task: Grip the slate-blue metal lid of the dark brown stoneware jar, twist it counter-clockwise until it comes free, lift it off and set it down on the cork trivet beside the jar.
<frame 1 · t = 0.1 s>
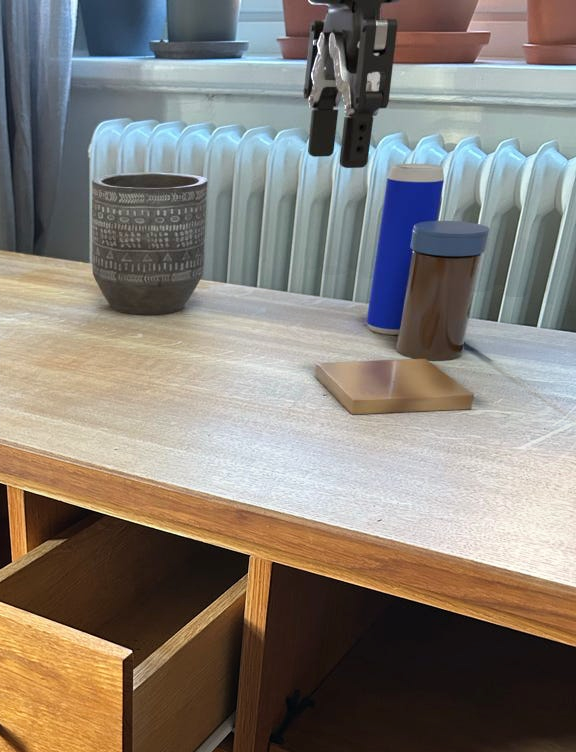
hand: (335, 161, 83), 16 cm above the table, tool pointing down, fingers open, 8 cm apart
trivet: (389, 391, 81), on the table
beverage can: (391, 331, 98), on the table
planter: (146, 307, 107), on the table
jar: (428, 351, 91), on the table
jar lid: (450, 231, 85), point 11 cm above the table, screwed on, not yet turned
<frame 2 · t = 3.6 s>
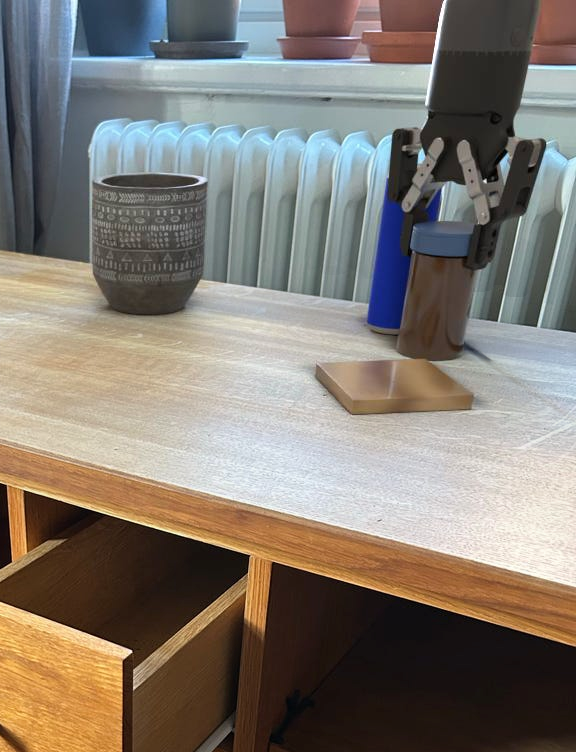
hand: (442, 261, 87), 8 cm above the table, tool pointing down, fingers closed on jar lid, 6 cm apart
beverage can: (391, 330, 98), on the table, touching hand
jar lid: (450, 231, 85), point 11 cm above the table, screwed on, not yet turned, touching gripper
everything else where it was.
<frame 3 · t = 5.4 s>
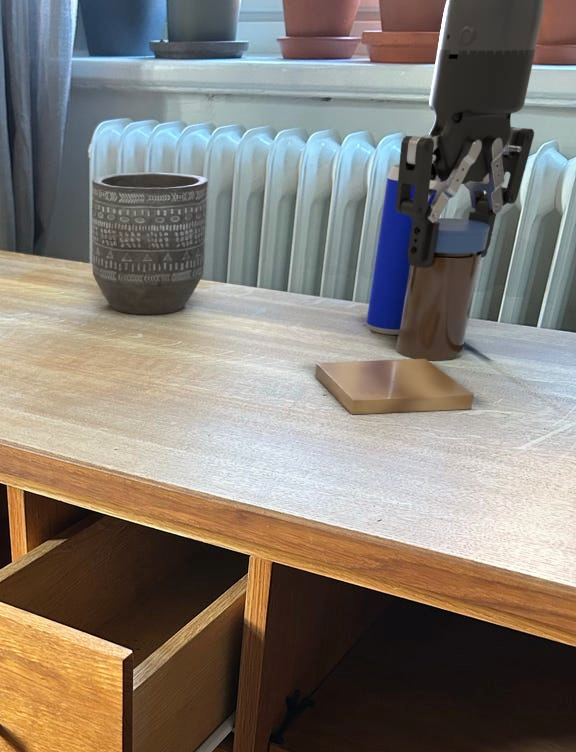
hand: (446, 260, 86), 8 cm above the table, tool pointing down, fingers closed on jar lid, 6 cm apart
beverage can: (391, 331, 98), on the table
jar lid: (450, 228, 85), point 11 cm above the table, turned 83° so far, risen 0.2 cm, still on its thread, touching gripper
everything else where it was.
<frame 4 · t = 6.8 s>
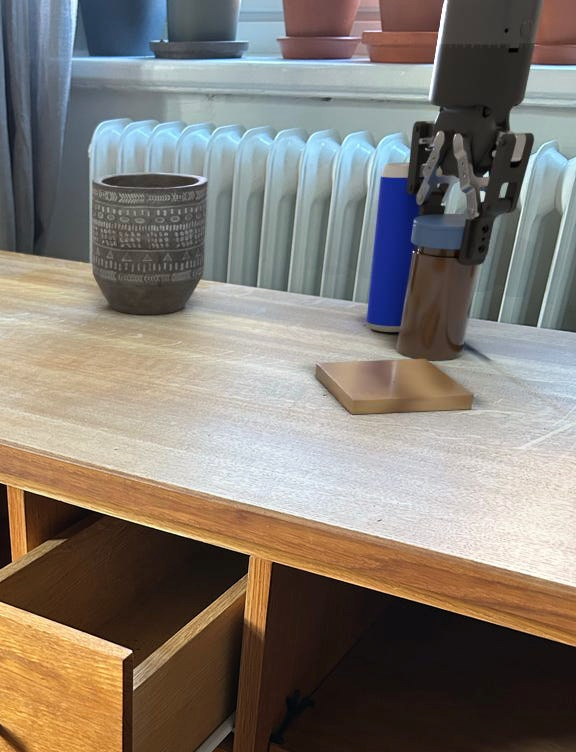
hand: (447, 256, 86), 9 cm above the table, tool pointing down, fingers closed on jar lid, 6 cm apart
jar: (428, 351, 91), on the table, touching gripper
jar lid: (451, 224, 85), point 11 cm above the table, off its thread, touching gripper
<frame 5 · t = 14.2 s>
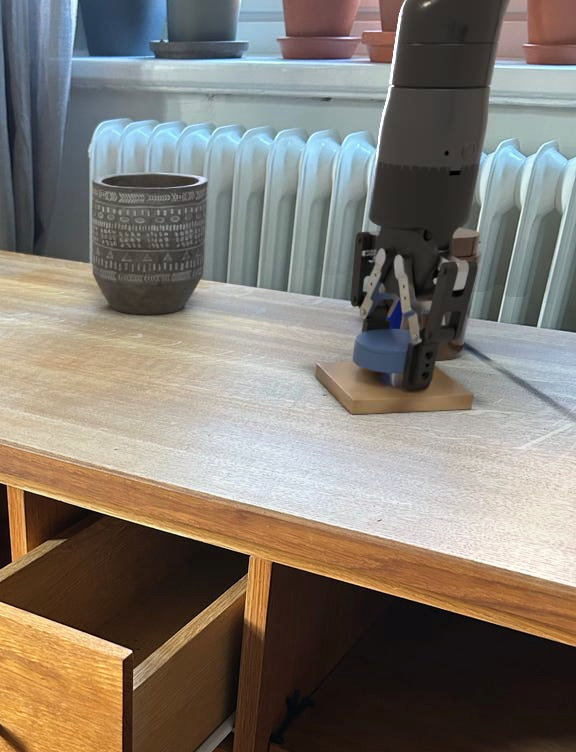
hand: (392, 375, 80), 1 cm above the table, tool pointing down, fingers closed on jar lid, 6 cm apart
jar: (428, 351, 91), on the table
jar lid: (394, 343, 79), point 4 cm above the table, off its thread, touching gripper
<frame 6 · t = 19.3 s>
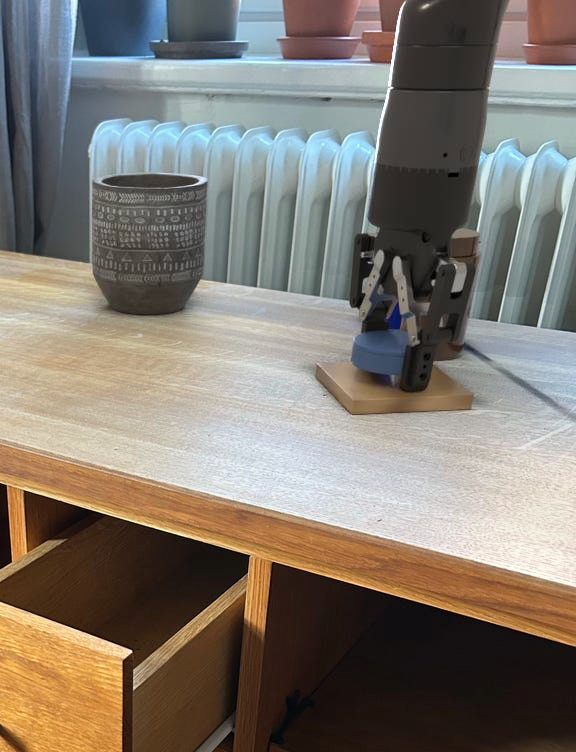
hand: (390, 376, 81), 1 cm above the table, tool pointing down, fingers closed on jar lid, 6 cm apart
jar lid: (393, 344, 79), point 4 cm above the table, off its thread, touching gripper
everything else where it was.
when the fingers open (2 cm above the table, at t = 23.9 s): jar lid drops 2 cm, resting on trivet.
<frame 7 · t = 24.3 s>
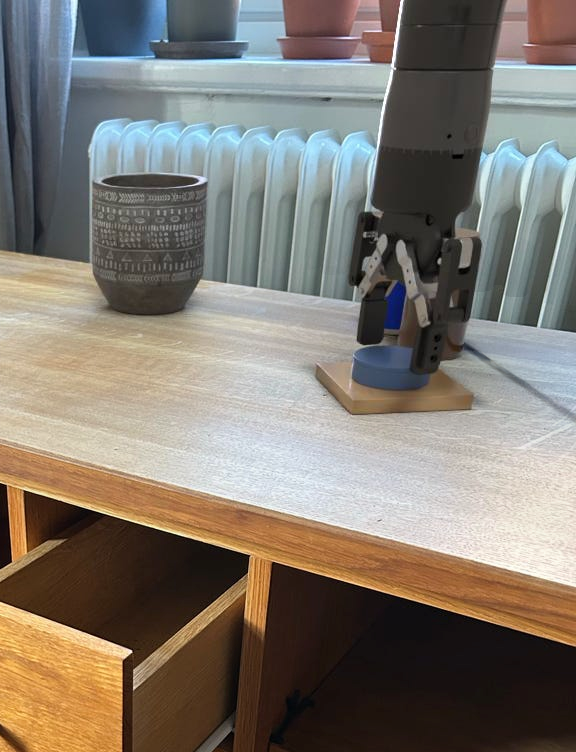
hand: (394, 357, 80), 3 cm above the table, tool pointing down, fingers open, 8 cm apart
jar lid: (392, 360, 80), point 3 cm above the table, off its thread, touching trivet
everything else where it was.
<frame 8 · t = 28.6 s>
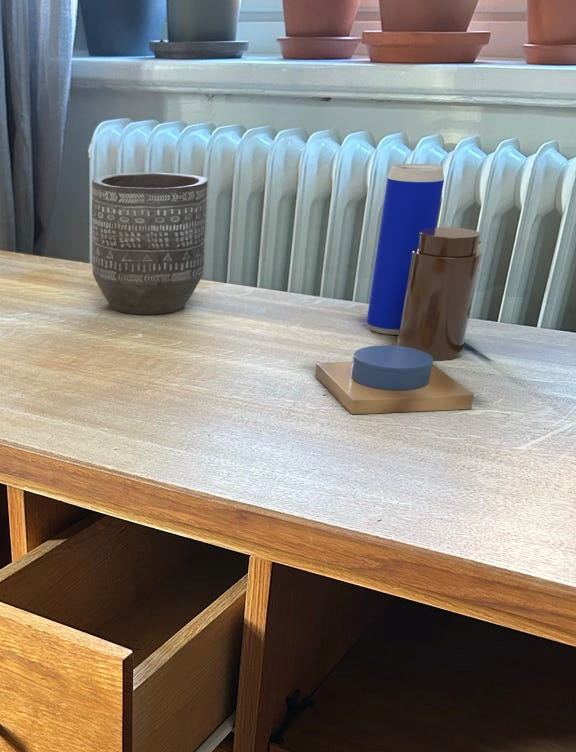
nothing on the table moved.
at the end: jar lid came off its thread; jar lid point 2.7 cm above the table; the gripper is holding nothing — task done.
